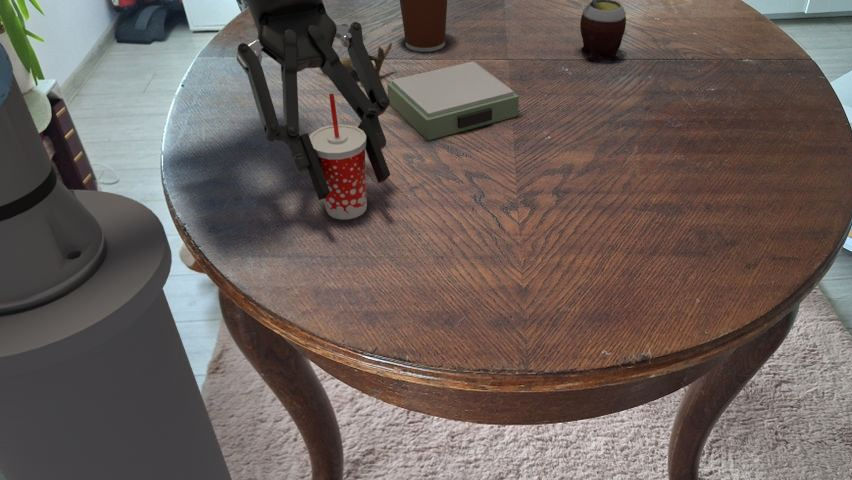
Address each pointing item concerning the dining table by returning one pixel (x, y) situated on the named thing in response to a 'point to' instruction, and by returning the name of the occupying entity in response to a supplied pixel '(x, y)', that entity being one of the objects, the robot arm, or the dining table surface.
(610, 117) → the dining table surface
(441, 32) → the coffee cup
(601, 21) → the mate gourd
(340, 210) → the beverage cup
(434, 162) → the dining table surface
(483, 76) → the scale
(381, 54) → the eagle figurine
